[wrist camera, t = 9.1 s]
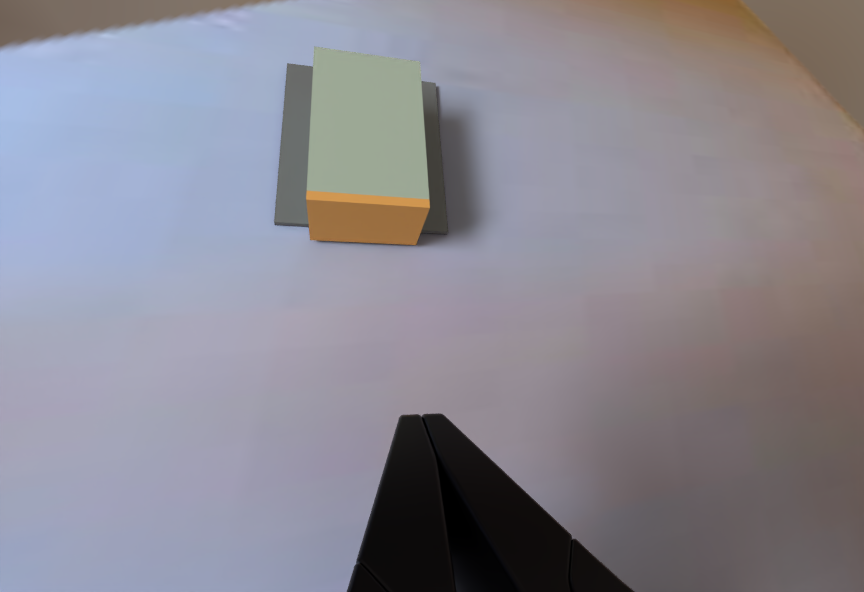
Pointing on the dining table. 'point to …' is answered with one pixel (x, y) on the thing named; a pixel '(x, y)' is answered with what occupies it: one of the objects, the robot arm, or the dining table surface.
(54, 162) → the dining table surface
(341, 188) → the block
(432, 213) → the mat
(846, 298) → the dining table surface
